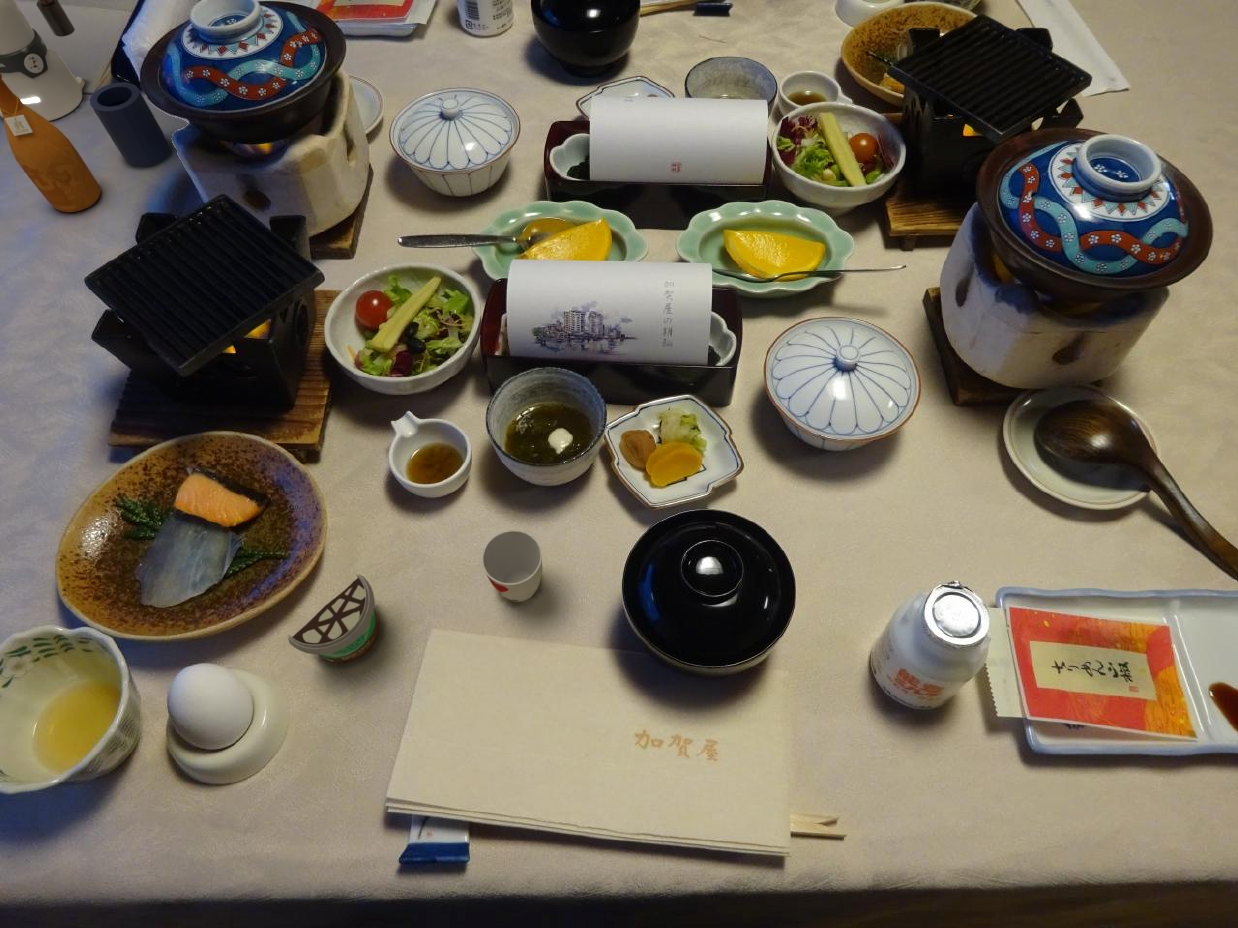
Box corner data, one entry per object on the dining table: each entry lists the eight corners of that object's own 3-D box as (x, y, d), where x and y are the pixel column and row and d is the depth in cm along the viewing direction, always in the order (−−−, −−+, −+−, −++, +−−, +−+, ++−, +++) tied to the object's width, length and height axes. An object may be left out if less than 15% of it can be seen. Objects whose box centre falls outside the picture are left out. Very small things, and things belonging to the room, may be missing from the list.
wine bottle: (40, 209, 156) (-72, 65, 131) (72, 178, 161) (-30, 33, 135) (83, 220, 155) (-22, 76, 129) (114, 188, 160) (18, 43, 134)
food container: (338, 691, 107) (314, 669, 98) (309, 662, 109) (284, 638, 100) (407, 625, 112) (390, 598, 103) (378, 598, 114) (359, 570, 105)
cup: (482, 575, 116) (472, 546, 107) (532, 551, 118) (525, 520, 109) (506, 621, 112) (497, 595, 104) (556, 595, 114) (552, 567, 106)
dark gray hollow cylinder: (115, 157, 164) (79, 101, 153) (150, 134, 169) (117, 77, 158) (145, 173, 162) (111, 116, 151) (180, 149, 166) (149, 92, 155)
